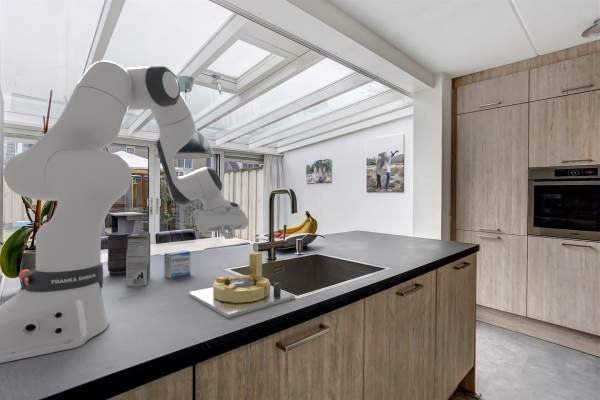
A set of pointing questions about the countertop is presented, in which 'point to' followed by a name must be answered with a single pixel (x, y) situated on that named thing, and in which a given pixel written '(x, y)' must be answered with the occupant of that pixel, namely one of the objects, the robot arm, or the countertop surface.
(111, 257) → the camera lens
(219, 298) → the lens holder
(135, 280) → the coffee box
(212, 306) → the base plate
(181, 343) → the countertop surface
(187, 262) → the medicine box
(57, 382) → the countertop surface
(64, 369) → the countertop surface
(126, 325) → the countertop surface
